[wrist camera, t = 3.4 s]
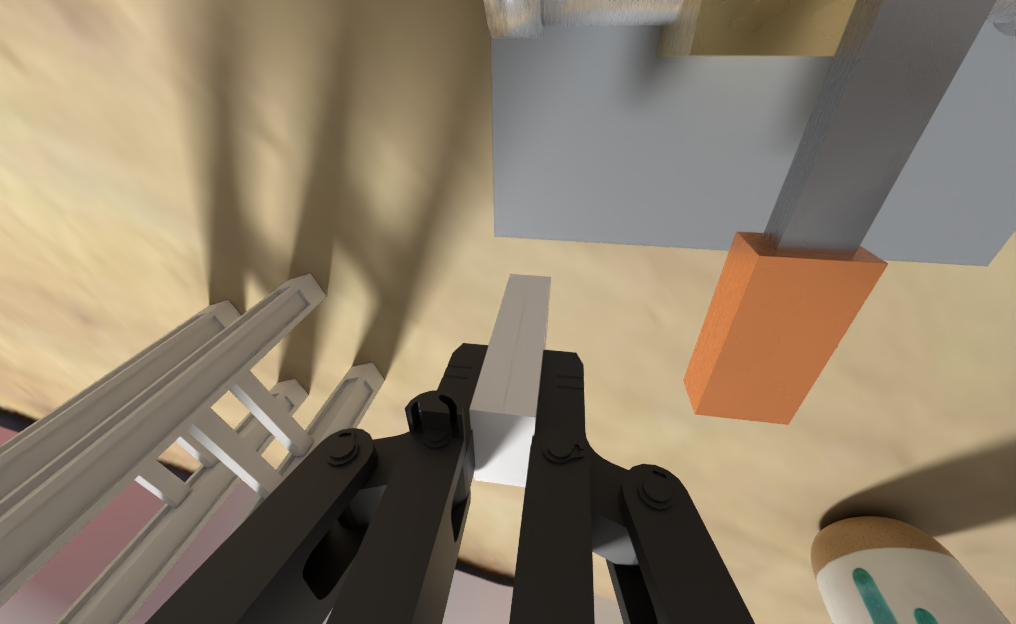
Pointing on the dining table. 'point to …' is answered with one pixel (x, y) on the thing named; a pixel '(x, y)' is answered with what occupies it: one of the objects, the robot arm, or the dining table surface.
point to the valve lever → (827, 211)
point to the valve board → (727, 146)
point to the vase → (894, 576)
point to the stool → (164, 447)
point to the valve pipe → (706, 23)
